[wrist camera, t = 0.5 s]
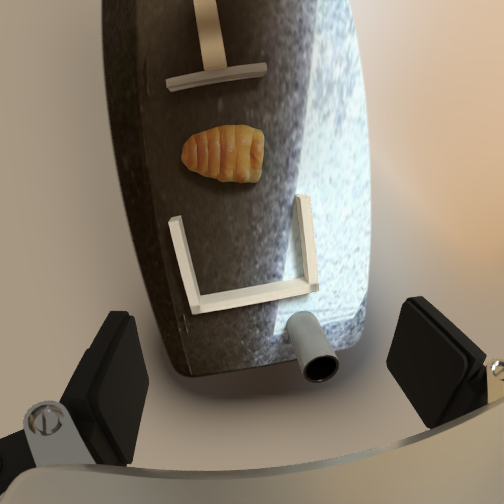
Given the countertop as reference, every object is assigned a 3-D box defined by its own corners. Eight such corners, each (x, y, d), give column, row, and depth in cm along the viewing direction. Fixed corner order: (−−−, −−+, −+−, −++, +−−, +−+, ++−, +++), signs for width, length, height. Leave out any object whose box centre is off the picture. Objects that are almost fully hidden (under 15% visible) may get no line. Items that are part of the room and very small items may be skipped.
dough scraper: (160, 11, 26) (154, -2, 23) (248, -4, 27) (251, -18, 23) (171, 92, 31) (165, 85, 27) (263, 76, 31) (268, 68, 27)
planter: (283, 315, 42) (300, 362, 32) (314, 306, 42) (338, 350, 32) (289, 340, 43) (305, 387, 34) (318, 331, 43) (340, 376, 34)
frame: (171, 217, 36) (168, 222, 33) (304, 193, 36) (310, 196, 34) (193, 305, 40) (192, 314, 37) (313, 282, 40) (318, 290, 38)
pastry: (182, 180, 34) (178, 184, 31) (184, 124, 32) (179, 121, 29) (261, 182, 35) (265, 185, 32) (264, 126, 33) (269, 124, 30)
